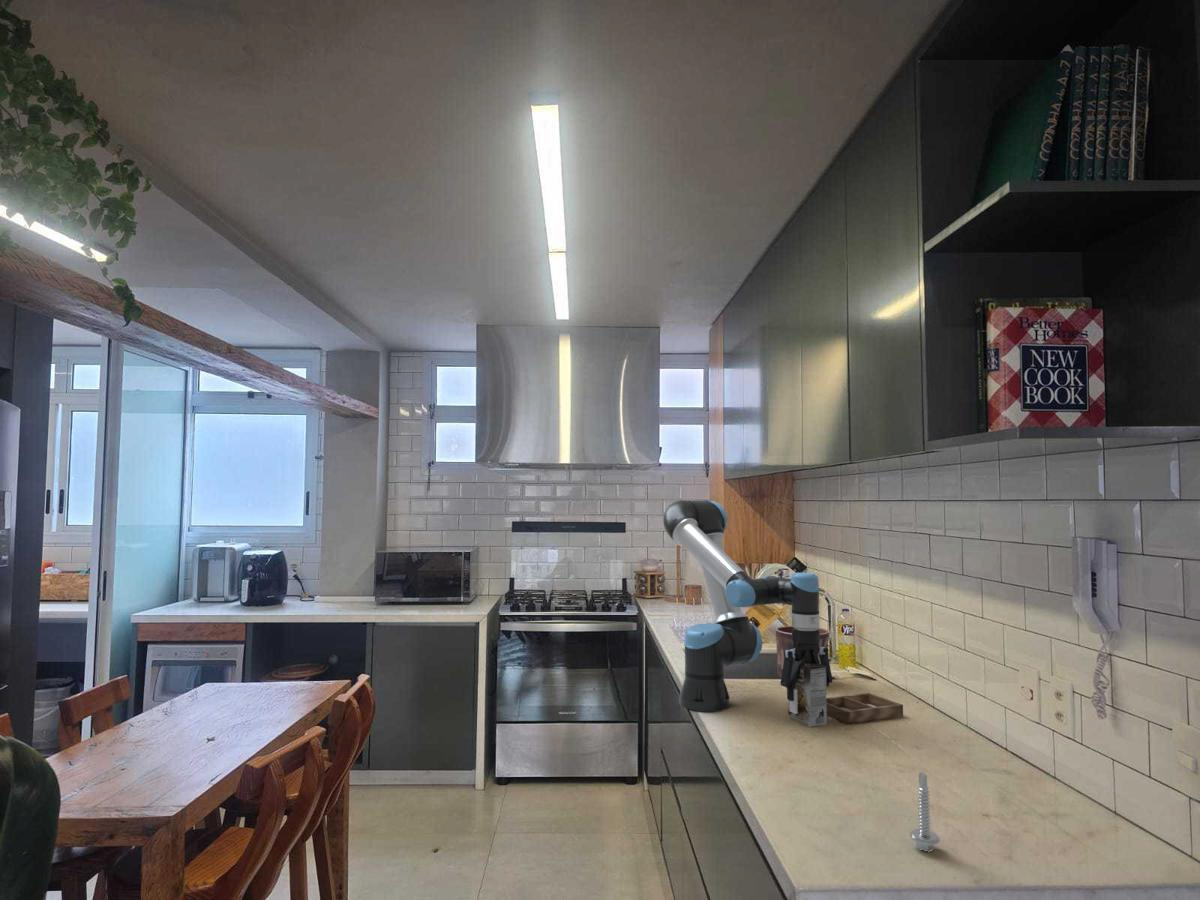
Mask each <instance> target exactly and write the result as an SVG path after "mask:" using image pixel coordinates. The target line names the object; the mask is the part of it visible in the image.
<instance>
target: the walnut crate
mask: <svg viewBox="0 0 1200 900" xmlns="http://www.w3.org/2000/svg"><path fill="white" fill-rule="evenodd" d="M826 705H827V706H826V707H827V718H829V717H830V718H829V719H831V718H832V720H834V719H835V720H834V721H836V720H837V721H836V722H838V721H839V723H841V724H843V723H844V724H843V725H846V726H851V725H852V724H853V725H859V724H868V723H872V722H880V721H888V720H895V719H901V718H904V704H901V703H898V702H896V701H892V700H890V699H888V698H884V697H882V696H878V695H875V694H872V693H870V692H864V693H856V694H855V693H854V694H847V695H839V696H830V697H826ZM853 725H852V726H853Z"/></svg>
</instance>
